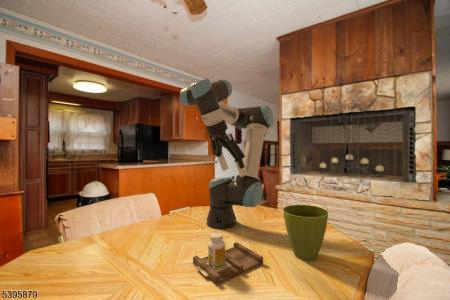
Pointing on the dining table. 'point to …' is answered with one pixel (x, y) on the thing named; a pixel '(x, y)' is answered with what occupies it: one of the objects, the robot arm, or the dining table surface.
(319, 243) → the flower pot
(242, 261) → the slot board
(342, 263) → the dining table surface
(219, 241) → the supplement bottle
